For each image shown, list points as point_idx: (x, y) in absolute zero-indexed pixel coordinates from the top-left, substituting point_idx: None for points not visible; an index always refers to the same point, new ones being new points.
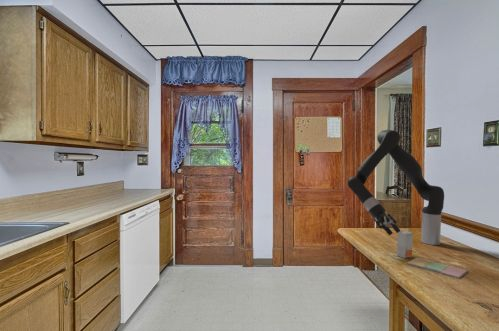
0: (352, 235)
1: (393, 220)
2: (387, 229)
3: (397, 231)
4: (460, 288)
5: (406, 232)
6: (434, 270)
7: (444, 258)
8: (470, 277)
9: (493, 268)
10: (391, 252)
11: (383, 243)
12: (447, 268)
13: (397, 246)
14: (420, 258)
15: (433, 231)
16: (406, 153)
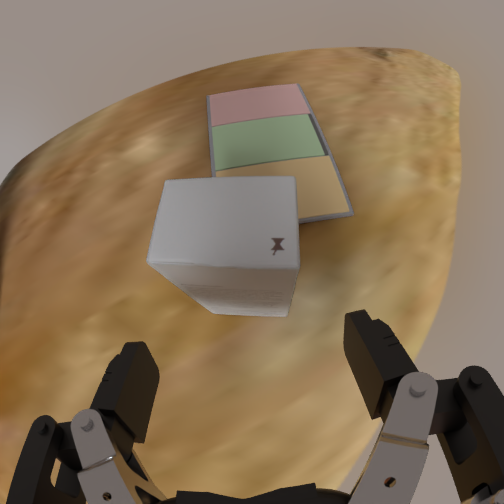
0: None
1: (48, 461)
2: (406, 354)
3: (152, 369)
4: (357, 74)
5: (217, 208)
6: (318, 125)
7: (114, 189)
8: (253, 81)
9: (115, 103)
10: (254, 374)
11: None
12: (251, 116)
13: (290, 303)
14: None
15: None
16: None
